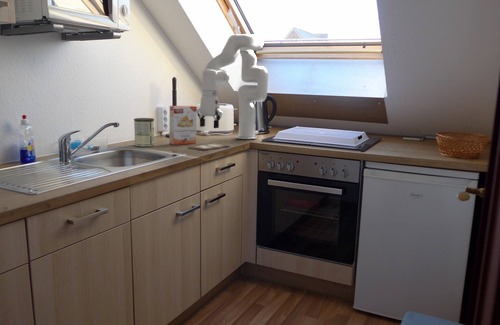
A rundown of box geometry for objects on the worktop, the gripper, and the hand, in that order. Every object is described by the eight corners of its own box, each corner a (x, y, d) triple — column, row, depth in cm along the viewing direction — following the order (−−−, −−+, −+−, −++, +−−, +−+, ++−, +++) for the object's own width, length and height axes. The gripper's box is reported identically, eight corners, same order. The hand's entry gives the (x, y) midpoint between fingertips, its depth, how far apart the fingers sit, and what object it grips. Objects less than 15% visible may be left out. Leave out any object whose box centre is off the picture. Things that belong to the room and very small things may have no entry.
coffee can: (133, 144, 242) (132, 117, 239) (152, 143, 246) (152, 117, 243) (136, 146, 233) (135, 119, 230) (156, 146, 237) (155, 119, 234)
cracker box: (173, 145, 241) (173, 106, 237) (169, 144, 246) (168, 105, 242) (196, 143, 249) (197, 106, 245) (191, 142, 254) (191, 105, 250)
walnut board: (212, 144, 247) (212, 143, 247) (229, 147, 240) (229, 145, 239) (187, 148, 232) (188, 146, 232) (205, 150, 225) (205, 149, 224)
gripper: (227, 94, 229) (226, 128, 232) (202, 93, 239) (202, 125, 242) (217, 94, 223) (216, 129, 226) (192, 93, 233) (192, 126, 236)
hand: (209, 127), depth 234 cm, fingers open, 9 cm apart
